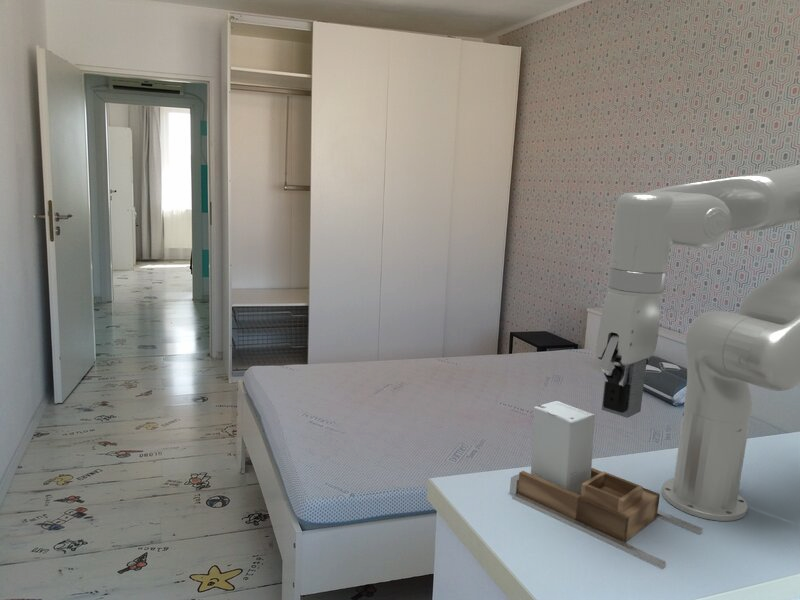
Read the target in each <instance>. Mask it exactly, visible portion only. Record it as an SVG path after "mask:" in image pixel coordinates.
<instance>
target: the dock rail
mask: <svg viewBox="0 0 800 600" xmlns="http://www.w3.org/2000/svg"><path fill="white" fill-rule="evenodd" d="M518 483H519V473H517V474H516V475H513V476H511V477H510V483H509V495H512V499H513V500H514V501H517V502H519V503H521V504H523V505H526V506H527V507H530V508H532V509H534V510H536V511H538V512H540V513H542V514H544V515H547V516H549V517H551V518H553V519H555V520H557V521H559V522H561V523H563V524H565V525H568V526H570V527H572V528H574V529H576V530H579V531H581V532H583V533H585V534H587V535H589V536H591V537H593V538H596V539H597V540H599V541H602V542H604V543H605V544H608V545H610V546H613V547H615V549H616V548H617V549H619V550H620V551H624V552H625V553H628V554H630V555H631V556H634V557H636V558H638V559H640V560H642V561H645V562H646V563H648V564H651V565H653V566H655V567H657V568H659V569H661V570H663V569H664V568H665V567H666V565H667V561H665V560H663V559H661V558H658V557H656V556H654V555H652V554H650V553H648V552H646V551H644V550H642V549H640V548H637V547H634V546H633V545H630V544H628V543H626V542H625V543H624V542H622V541H620V540H618V539H615V538H613V537H611V536H609V535H607V534H605V533H602V532H600V531H598V530H596V529H594V528H592V527H589V526H587V525H585V524H583V523H581V522H579V521H576V520H574V519H572V518H570V517H568V516H566V515H563V514H561V513H559V512H557V511H555V510H553V509H550V508H548V507H546V506H544V505H542V504H539V503H537V502H535V501H533V500H531V499H529V498H526V497H524V496H522V495H520V494H518ZM657 518H658V519H661V520H664V521H665V522H668V523H670V524H673V525H675V526H677V527H680V528H681V529H684V530H687V531H690V532H692V533H695V534H697V535H702V533H703V529H704V528H702V527H700V526H698V525H695V524H693V523H691V522H688V521H685V520H683V519H681V518H678V517H675V516H673V515H671V514H668V513H666V512H664V511H662V510H659V509H658V512H657Z"/></svg>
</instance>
